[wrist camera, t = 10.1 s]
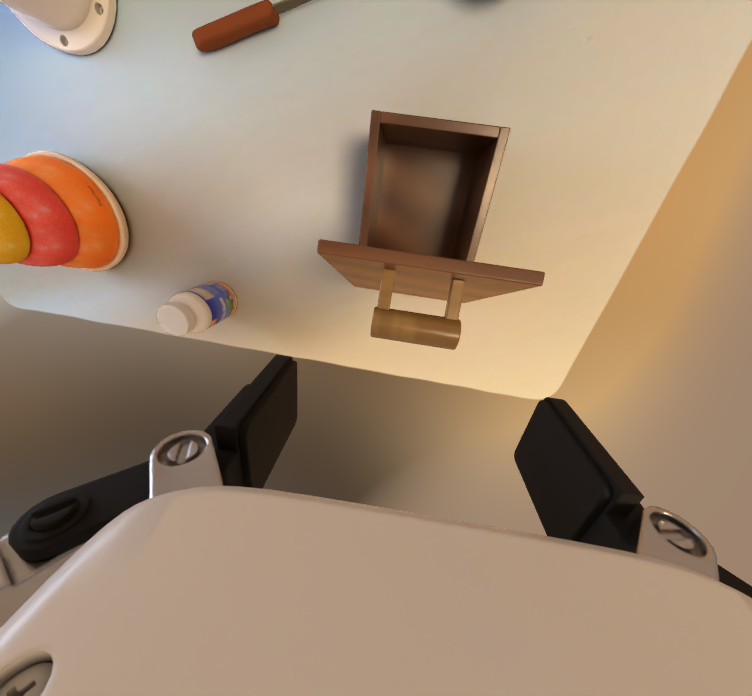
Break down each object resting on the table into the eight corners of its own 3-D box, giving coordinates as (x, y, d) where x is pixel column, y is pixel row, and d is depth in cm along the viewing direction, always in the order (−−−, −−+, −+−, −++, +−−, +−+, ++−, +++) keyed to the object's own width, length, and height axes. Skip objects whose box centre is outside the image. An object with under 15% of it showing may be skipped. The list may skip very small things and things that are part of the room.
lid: (318, 238, 15) (306, 329, 15) (546, 272, 14) (526, 364, 15) (355, 279, 30) (349, 324, 30) (465, 296, 29) (456, 341, 30)
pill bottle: (235, 321, 44) (192, 349, 35) (201, 307, 43) (149, 332, 35) (241, 289, 41) (196, 310, 33) (205, 274, 41) (150, 292, 32)
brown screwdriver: (205, 56, 30) (192, 47, 28) (199, 39, 30) (186, 28, 28) (346, 1, 27) (342, -13, 25) (342, -19, 27) (338, -35, 25)
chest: (380, 134, 32) (371, 109, 24) (485, 148, 31) (510, 127, 23) (366, 267, 38) (355, 282, 30) (452, 280, 38) (463, 298, 30)
